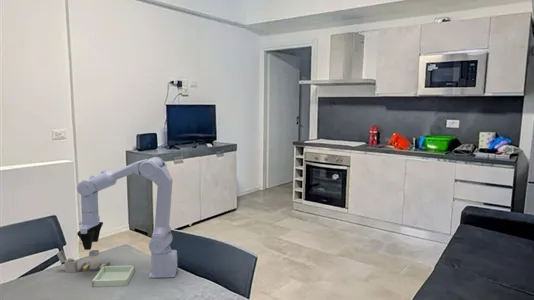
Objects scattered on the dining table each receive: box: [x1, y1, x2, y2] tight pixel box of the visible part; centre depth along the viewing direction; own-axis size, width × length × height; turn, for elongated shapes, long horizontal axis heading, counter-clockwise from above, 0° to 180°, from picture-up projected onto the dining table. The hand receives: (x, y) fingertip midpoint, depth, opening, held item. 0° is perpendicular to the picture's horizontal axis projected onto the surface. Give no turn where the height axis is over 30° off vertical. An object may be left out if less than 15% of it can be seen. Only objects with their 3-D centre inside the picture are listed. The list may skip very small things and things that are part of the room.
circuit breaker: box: [56, 250, 79, 274], centre depth 138 cm, size 7×2×8 cm, turn 84°
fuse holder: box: [77, 261, 111, 273], centre depth 142 cm, size 10×6×1 cm, turn 96°
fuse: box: [88, 249, 100, 270], centre depth 141 cm, size 4×4×6 cm
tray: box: [91, 265, 136, 288], centre depth 134 cm, size 12×12×2 cm
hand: (91, 245), depth 139 cm, fingers open, 7 cm apart
